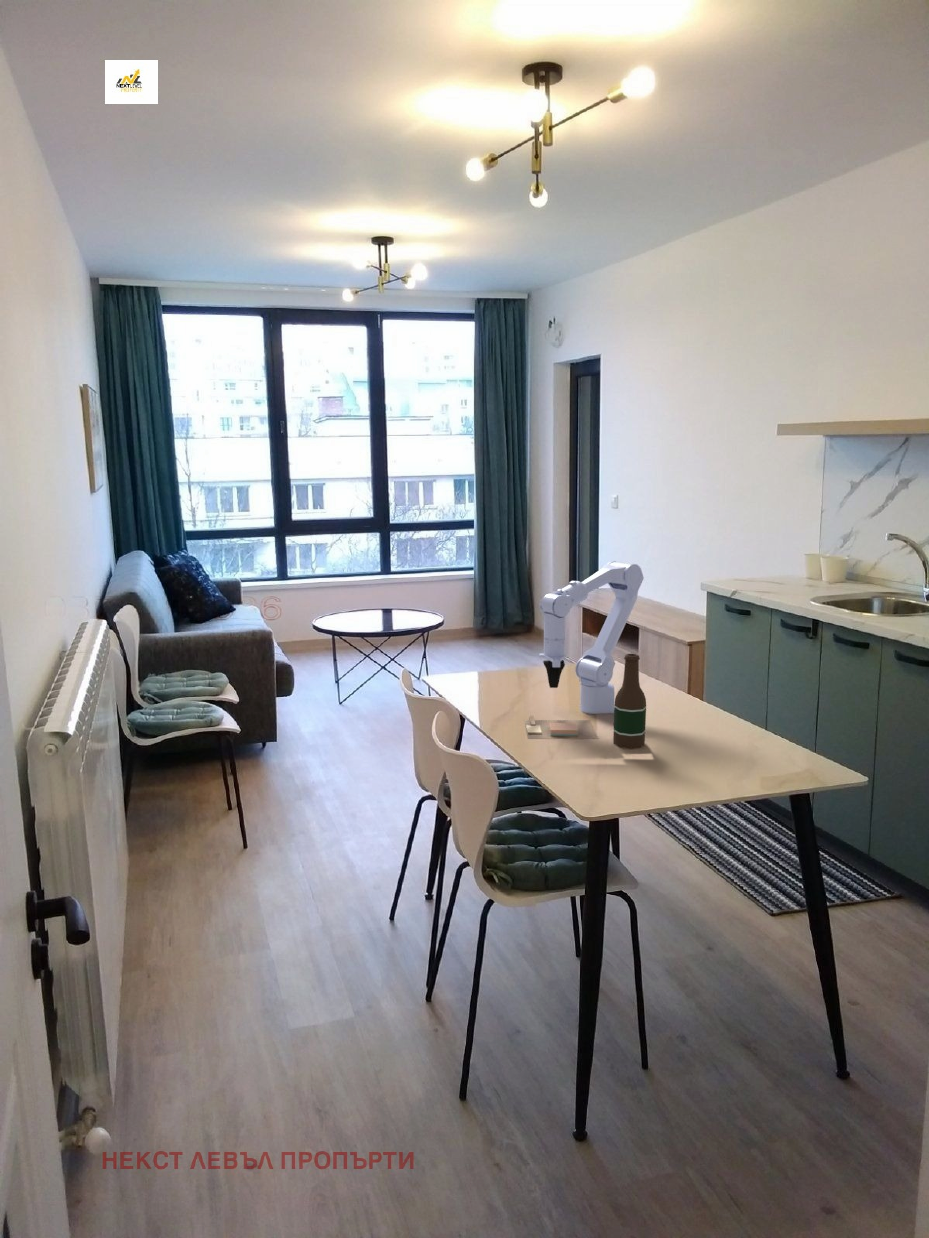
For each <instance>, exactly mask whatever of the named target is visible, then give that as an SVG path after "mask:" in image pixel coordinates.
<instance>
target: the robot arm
mask: <svg viewBox="0 0 929 1238" xmlns="http://www.w3.org/2000/svg"><path fill="white" fill-rule="evenodd" d="M643 581H644V575H643V571H642V568H641V567H640V565H638V564H637V563H636V564H635V563H626V562H620V561H616V560H613V561H609V562H608V563H605V564H603V566H602V568H601V569H599V570H598V571H596V572H595V573H593V574H592V575H590V576H589V577H587V578H586V579H584V580H583V581H579V580H571V581H569V584H568V585H566V586H564V587H563V588H558V589H557V590H556V592H554V593H551V592H550V593H547V594H545V595H544V596H543V597H542V599H541V600H540V603H539V604H538V605H539V609H540V612H541V614H542V619H543V653H541V652H540V653H539V654H538V656H539V658H542V659H545V660H543V661H542V662H543V666H544V668H545V669H546V675H547V681H548V685H549V688H550V689H557V688H558V687H559V683H560V678H561V675H562V671H563V670H564V668H565V666H566V663H565V660H564V659H565V658H566V654H565V653H566V617H567V616H568V615H569V614H570V611H571V609H572V608H573V607H575V606H576V605H579V604H580V603H582V602H583V601H585V600H587V599H588V595H589V593H591V592H594V591H595V590H597V589H599V588H601V587H603V586H605V585H608V586H609V588H610V590H611V592H613V594H614V596H615V599H614V601H613V603H612V606H611V608H610V610H609V613H608V614H607V617H606V619H605V621H604V624H603V625H602V627H601V629H600V632H599V634H598V636H597V638H596V640H595V642H594V645H593V646H592V647H591V648H589V649H588V650H586V651H584V653H583V654H582V656H581V657H580V658H579V660H578V661H577V662H576V664H575V668H574V669H575V670H574V671H575V676H576V677H577V678H578V681H579V682H580V693H579V694H580V695H579V697H580V700H579V701H580V703H579V705H580V706H579V710H580V711H581V712H582V713H585V714H590V715H591V714H597V715H598V714H614V705H615V686H614V683H611V680H612V679H613V674H614V668H615V665H616V662H615V659H614V657H613V656H612V654H613V652H614V650H615V649H616V646H617V643H618V641H619V639H620V637H621V635H622V632H623V630H624V629H625V626H626V624H627V622H628V619H629V617H630V615H631V613H632V611H633V608H634V606H635V604H636V602H637V599H638V593H639V590H640V588H641V586H642V584H643Z"/></svg>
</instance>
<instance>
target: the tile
mask: <svg viewBox="0 0 929 1238" xmlns="http://www.w3.org/2000/svg"><path fill="white" fill-rule="evenodd" d="M549 732H550V735H551V736H578V728H577V726H576V723H549Z"/></svg>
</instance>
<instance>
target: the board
mask: <svg viewBox="0 0 929 1238" xmlns="http://www.w3.org/2000/svg"><path fill="white" fill-rule="evenodd" d="M534 720H535V725H540V728H541V732H542V734H528V733H527V728H526V725H530V721H529V719H524V721H523V722H524V728H525V732H526V735H527V739H531V740H534V739H535V740H537V739H538V740H539V739H540V740H541V739H542V740H544V739H545V740H546V739H547V740H550V739H551V740H552V739H554V740H555V739H556V740H561V739H562V740H568V739H569V740H570V739H571V740H572V739H573V740H599V737H598V733H597V732H596V730H595V728H594V725H593V722H592V721H591V719H586V720H585V719H582V720H581V719H579V720H578V719H577V720H576V719H567V720H566V719H560V720H559V719H538V720H537V719H534ZM549 723H576V726H577V728H578V736H551V735H550V732H549Z"/></svg>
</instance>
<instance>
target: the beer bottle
mask: <svg viewBox="0 0 929 1238" xmlns="http://www.w3.org/2000/svg"><path fill="white" fill-rule="evenodd" d="M640 659H641V658H640V655H639V654H636V653H627V654H626V653H625V655H624V657H623V660H624V671H623V681H622V684H621V685H622V686H621V687H620V689H619V690H618V691H617V693H616V695H615V697H614V713H613V739H612V740H613V741H612V742H613V745H615V746H616V747H618V748H622V749H629V750H632V749H633V750H634V749H640V748H642V747H644V746H645V742H646V722H647V721H646V719H647V718H646V717H647V698H646V696H645V693H644V691H643V689H642V688H641V686H640V671H639V667H640V666H639V664H640V663H639V660H640Z"/></svg>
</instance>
